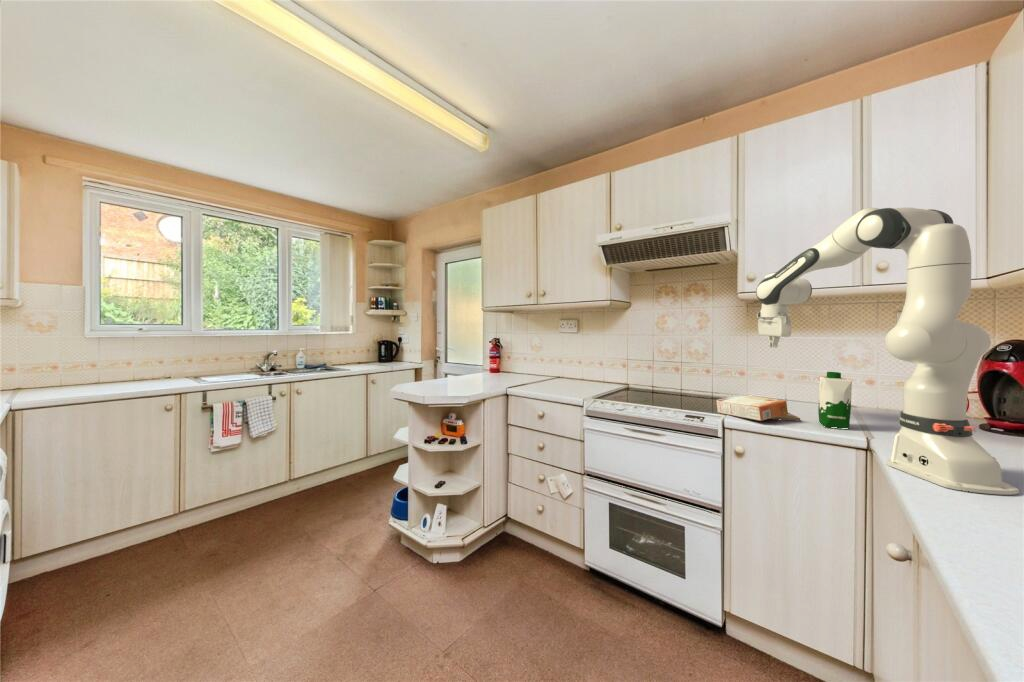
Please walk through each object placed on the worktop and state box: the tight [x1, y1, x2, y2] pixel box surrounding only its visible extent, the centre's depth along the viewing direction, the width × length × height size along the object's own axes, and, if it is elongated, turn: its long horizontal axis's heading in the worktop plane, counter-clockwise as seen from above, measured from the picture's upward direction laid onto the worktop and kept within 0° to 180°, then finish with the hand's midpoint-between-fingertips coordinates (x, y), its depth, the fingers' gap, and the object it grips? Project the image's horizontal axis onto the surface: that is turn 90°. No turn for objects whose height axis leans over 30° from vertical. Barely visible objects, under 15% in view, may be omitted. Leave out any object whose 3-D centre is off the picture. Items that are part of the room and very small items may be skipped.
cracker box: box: [715, 394, 789, 422], centre depth 153 cm, size 14×6×21 cm
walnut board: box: [771, 412, 801, 421], centre depth 158 cm, size 20×16×1 cm
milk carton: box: [817, 371, 853, 430], centre depth 138 cm, size 9×9×20 cm
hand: (773, 347), depth 152 cm, fingers closed
